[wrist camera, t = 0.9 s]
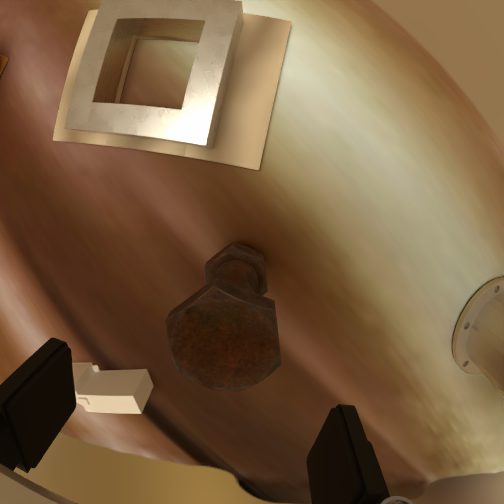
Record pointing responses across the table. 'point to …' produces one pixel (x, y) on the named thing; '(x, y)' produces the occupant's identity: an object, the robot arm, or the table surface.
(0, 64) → the candy box
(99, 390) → the beige stepped block
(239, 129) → the beech board
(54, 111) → the table surface
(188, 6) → the steel socket collar
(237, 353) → the bolt
